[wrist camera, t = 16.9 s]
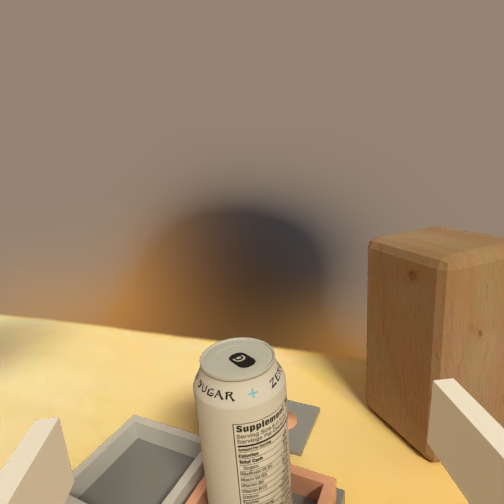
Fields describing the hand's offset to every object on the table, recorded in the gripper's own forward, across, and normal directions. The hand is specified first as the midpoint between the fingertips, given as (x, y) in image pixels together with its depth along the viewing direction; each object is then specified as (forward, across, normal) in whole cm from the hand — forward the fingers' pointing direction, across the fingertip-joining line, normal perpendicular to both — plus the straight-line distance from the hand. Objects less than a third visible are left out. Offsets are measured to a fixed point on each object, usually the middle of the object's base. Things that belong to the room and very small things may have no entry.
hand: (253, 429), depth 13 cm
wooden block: (+21, +20, -20) cm, 35 cm away
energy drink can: (+10, 0, -18) cm, 21 cm away
